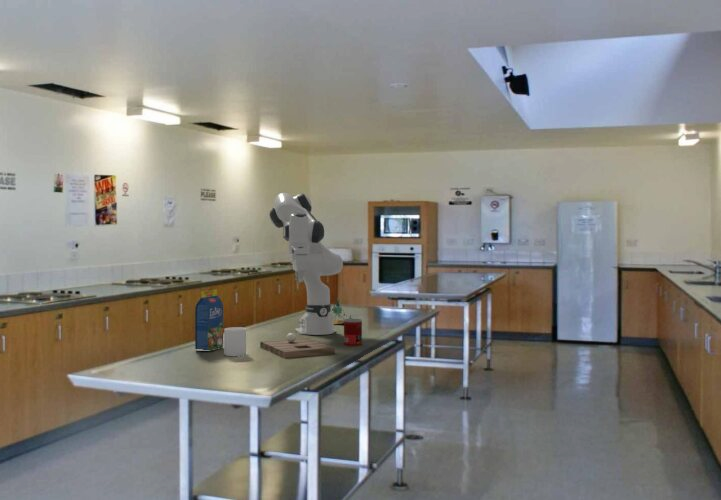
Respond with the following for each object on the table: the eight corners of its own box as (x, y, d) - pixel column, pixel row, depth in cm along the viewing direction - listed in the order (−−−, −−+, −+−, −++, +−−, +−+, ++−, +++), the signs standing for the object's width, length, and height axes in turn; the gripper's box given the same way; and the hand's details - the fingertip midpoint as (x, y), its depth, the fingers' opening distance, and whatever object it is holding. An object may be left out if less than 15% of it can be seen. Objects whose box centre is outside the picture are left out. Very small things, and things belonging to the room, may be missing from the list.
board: (260, 347, 300) (260, 341, 299) (307, 343, 310) (307, 338, 310) (284, 358, 275) (284, 351, 275) (334, 353, 285) (334, 347, 285)
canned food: (359, 346, 303) (360, 321, 303) (342, 345, 305) (342, 320, 305) (363, 343, 311) (363, 318, 310) (345, 342, 312) (346, 318, 312)
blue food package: (194, 351, 289) (194, 291, 288) (210, 346, 300) (210, 288, 299) (207, 352, 287) (207, 291, 286) (223, 347, 298) (223, 289, 297)
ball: (285, 342, 298) (285, 332, 298) (293, 341, 300) (293, 332, 300) (288, 343, 295) (288, 334, 295) (297, 342, 297) (297, 333, 297)
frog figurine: (353, 326, 368) (350, 298, 368) (320, 328, 373) (317, 300, 372) (357, 323, 377) (355, 296, 377) (326, 325, 382) (323, 298, 382)
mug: (253, 352, 287) (253, 326, 286) (239, 357, 275) (239, 330, 275) (235, 351, 290) (235, 325, 289) (220, 356, 278) (220, 329, 278)
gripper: (289, 249, 315) (289, 280, 315) (294, 250, 295) (294, 283, 295) (303, 249, 316) (303, 280, 317) (309, 250, 296) (309, 282, 297)
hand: (299, 281), depth 306 cm, fingers open, 8 cm apart
